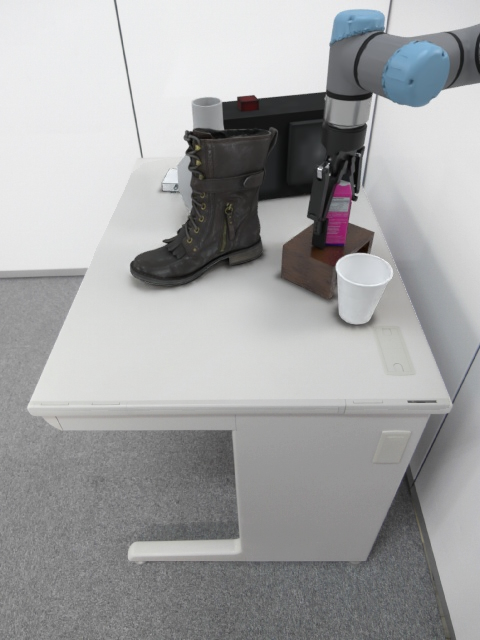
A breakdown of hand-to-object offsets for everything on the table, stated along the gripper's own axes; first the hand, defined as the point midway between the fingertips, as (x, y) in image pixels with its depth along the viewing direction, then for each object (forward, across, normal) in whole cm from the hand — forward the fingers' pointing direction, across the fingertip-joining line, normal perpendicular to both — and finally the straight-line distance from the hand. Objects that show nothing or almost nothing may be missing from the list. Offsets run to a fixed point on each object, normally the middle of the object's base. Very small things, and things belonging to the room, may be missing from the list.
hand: (329, 237), depth 90 cm
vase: (+8, -1, -34) cm, 35 cm away
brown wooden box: (+8, 0, 0) cm, 8 cm away
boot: (+8, +15, -22) cm, 28 cm away
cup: (+8, +9, +12) cm, 17 cm away
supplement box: (0, 0, 0) cm, 0 cm away
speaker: (+8, -25, -31) cm, 41 cm away
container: (+8, -10, -54) cm, 56 cm away
